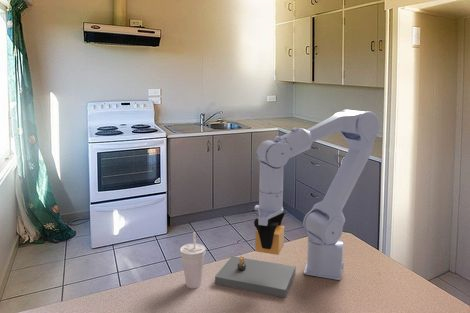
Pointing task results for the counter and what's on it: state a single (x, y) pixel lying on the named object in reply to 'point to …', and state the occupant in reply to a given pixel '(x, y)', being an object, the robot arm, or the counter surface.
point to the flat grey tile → (256, 276)
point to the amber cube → (277, 242)
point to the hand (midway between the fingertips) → (269, 243)
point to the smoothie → (193, 262)
